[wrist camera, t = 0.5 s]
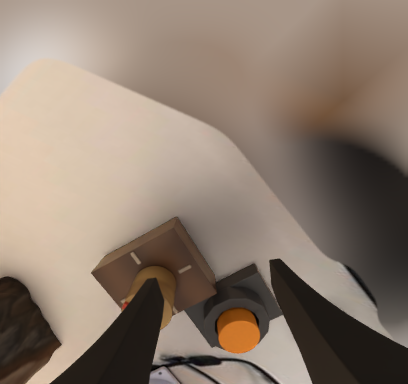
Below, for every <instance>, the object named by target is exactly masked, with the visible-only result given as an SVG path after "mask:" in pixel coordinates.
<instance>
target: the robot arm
mask: <svg viewBox="0 0 408 384" xmlns="http://www.w3.org/2000/svg"><path fill="white" fill-rule="evenodd" d="M269 262H270V273H271V285H272V288H273V291H274V294H275V297H276V300H277V302H278V305H279V307H280V309H281V311H282V313H283V315H284V317H285V319H286V322H287V324H288V326H289V328H290V330H291V332H292V334H293V336H294V338H295V341H296V343H297V345H298V347H299V350H300V352H301V354H302V357H303V360H304V362H305V365H306V368H307V370H308V373H309V376H310V378H311V381H312V384H408V348H406V347H404V346H402V345H400V344H398V343H396V342H394V341H393V340H391V339H389V338H387V337H385V336H383V335H382V334H380V333H378V332H376V331H374V330H373V329H371V328H369V327H368V326H366V325H364V324H363V323H361V322H359V321H358V320H356V319H354V318H353V317H351V316H350V315H348V314H347V313H345V312H343V311H342V310H341V309H339V308H338V307H336V306H335V305H333V304H332V303H331V302H329V301H328V300H327V299H325V298H324V297H323V296H321V295H320V294H319V293H317V292H316V291H315V290H314V289H313V288H311V287H310V286H309V285H308V284H307V283H305V282H304V281H303V280H302V279H301V278H300V277H299V276H297V275H296V274H295V273H294V272H293V271H292V270H291V269H290V268H289V267H288V266H287V265H286V264H285V263H284V262H283V261H282V260H281V259H273V260H269ZM163 311H164V298H163V295H162V292H161V289H160V286H159V284H158V281H157V278H156V277H155V278H148V279H147V280H146V281H145V282H144V284H143V285H142V286H141V288H140V289H139V290H138V292H137V293H136V294H135V296H134V297H133V298H132V300H131V301H130V302H129V304H128V305H127V306H126V308H125V309H124V310H123V311H122V313H121V314H120V315H119V316H118V317H117V319H116V320H115V321H114V322H113V323H112V325H111V326H110V327H109V328H108V329H107V330H106V331H105V332H104V334H103V335H102V336H101V337H100V338H99V339H98V340H97V341H96V342H95V343H94V344H93V345H92V346H91V347H90V348H89V349H88V350H87V351H86V352H85V353H84V354H83V355H82V356H81V357H80V358H79V359H77V360H76V361H75V362H74V363H73V364H72V365H71V366H70V367H69V368H68V369H66V370H65V371H64V372H63V373H62V374H61V375H60V376H58V377H57V378H56V379H55V380H54V381H52V382H51V383H50V384H180V383H179V382H178V381H177V380H176V378H175V377H174V376H173V375H172V374H171V372H170V371H169V370H168V369H167V368H166V367H164V366H163V367H160V368H158V369H156V370H154V371H152V372H151V368H152V363H153V358H154V354H155V349H156V345H157V341H158V336H159V332H160V328H161V323H162V319H163Z"/></svg>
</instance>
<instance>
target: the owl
mask: <svg viewBox="0 0 408 384" xmlns="http://www.w3.org/2000/svg"><path fill="white" fill-rule="evenodd" d="M60 346H61V344H60V343H59V341H58V340H57V338H56V336H55V335H54V334H53V332H52V331H51V329H50V327H49V324H48V323H47V322H46V320H45V319H44V318H43V317H42V315H41V312H40V309H39V307H38V306H37V305H36V304H35V303H33V301H32V300H31V298H30V293H29V291H28V289H27V288H26V287H25V286H24V285H23V284H21V283H20V282H19V281H17V280H16V279H14V278H11V277H4V278H1V279H0V384H26V382H27V381H28V380H29V379H30V378H31V377H32V376H33V375H34V374H35V373H36V372H38V371H39V370H40V369H41V368H42V367H43V366H45V365H46V364H47V363H48V362H49V360H50V358H51V356H52V354H53V352H54V351H55V350H56V349H57V348H59V347H60Z"/></svg>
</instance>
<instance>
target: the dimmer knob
mask: <svg viewBox="0 0 408 384" xmlns="http://www.w3.org/2000/svg"><path fill="white" fill-rule="evenodd" d="M155 277H156V278H157V281H158V284H159V286H160V289H161V292H162V295H163V298H164V311H163V319H162V323H161V328H160V330H161V329H163V328H164V327H165V326H166V325H167V324H168V323H169V322H170V320H171V317H172V312H173V305H174V299H175V292H176V279H175V277H174V275H173V274H172V273H171V272H170V271H169V270H167V269H166V268H163V267H160V266H150V267H146V268H144V269H142V270H141V271H140V272H139V273H138V274H137V275H136V277H135V280H134V282H133V284H132V286H131V288H130V290H129V292H128V295H127V297H126V299H125V301H124V303H123V305H122V311H123V310H124V309H125V308H126V306H127V305H128V304H129V302H130V301H131V300H132V298H133V297H134V296H135V294H136V293H137V292H138V290H139V289H140V288H141V286H142V285H143V284H144V282H145V281H146V280H147V279H148V278H155Z"/></svg>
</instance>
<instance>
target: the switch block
mask: <svg viewBox="0 0 408 384" xmlns="http://www.w3.org/2000/svg"><path fill="white" fill-rule="evenodd" d="M216 289H217V294H215V295H213V296H211V297H209V298H207V299H205V300H203V301H201V302H199V303H197V304H195V305H193V306H191V307H189V308H187V309H185V310H184V311H185V312H186V313H187V315H188V316H189V317H190V319H191V320H192V321H193V323H194V324H195V326H196V327H197V328H198V330H199V331H200V332H201V334H202V335H203V336H204V338H205V339H206V340H207V342H208V343H209V344H210V346H211V347H212V348H213V347H215V346H216V347H219V348H221V349H223V350H225V349H224V348H222V346H221V345H220V343H219V338H218V329H217V321H218V318H219V316H220V315H221V314H222V313H223V312H224V311H226V310H228V309H230V308H240V307H243V308H246V309H248V310H249V311H251V312H252V313H253V315H254V316H255V319H256V322H257V325H258V328H259V331H260V340H259V342H260V341H261V340H262V339H263V338H264V336H265V335H266V334H267V333H268V329H269V321H270V320H272V319H274V318H277V317H279V316H281V315H283V314H282V312H281V310H280V308H279V306H278V304H277V302H276V300H275V298H274V297H273V295H272V293H271V291H270V290H269V288H268V286H267V284H266V283H265V281H264V279H263V277H262V276H261V274H260V272H259V270H258V269H257V267H256V265H255V264H253V265H251V266H249V267H247V268H245V269H243V270H241V271H239V272H237V273H235V274H233V275H231V276H229V277H227V278H225V279H223V280H221V281H219V282H217V283H216ZM259 342H258V343H259Z"/></svg>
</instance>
